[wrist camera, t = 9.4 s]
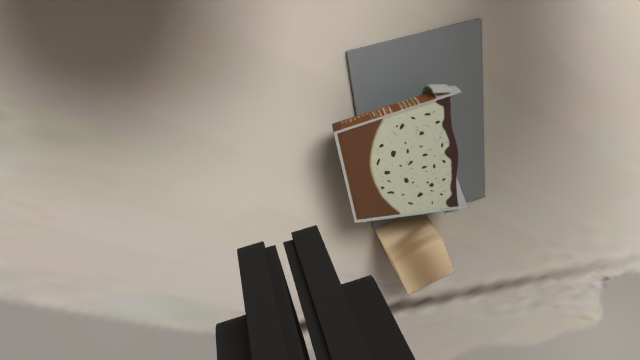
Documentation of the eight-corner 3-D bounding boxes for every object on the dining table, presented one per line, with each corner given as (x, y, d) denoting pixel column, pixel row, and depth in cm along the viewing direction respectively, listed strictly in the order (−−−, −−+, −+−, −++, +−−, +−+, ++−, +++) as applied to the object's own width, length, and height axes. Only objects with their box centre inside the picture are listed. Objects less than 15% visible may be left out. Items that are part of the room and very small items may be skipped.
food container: (349, 195, 49) (449, 173, 49) (357, 235, 44) (469, 212, 44) (323, 82, 42) (438, 56, 42) (329, 115, 37) (460, 84, 37)
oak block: (419, 206, 49) (441, 237, 45) (432, 239, 52) (454, 271, 48) (374, 229, 49) (393, 262, 45) (389, 261, 52) (408, 294, 48)
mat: (478, 18, 42) (481, 19, 42) (482, 194, 51) (484, 196, 51) (345, 51, 41) (347, 52, 41) (373, 227, 50) (374, 229, 49)
